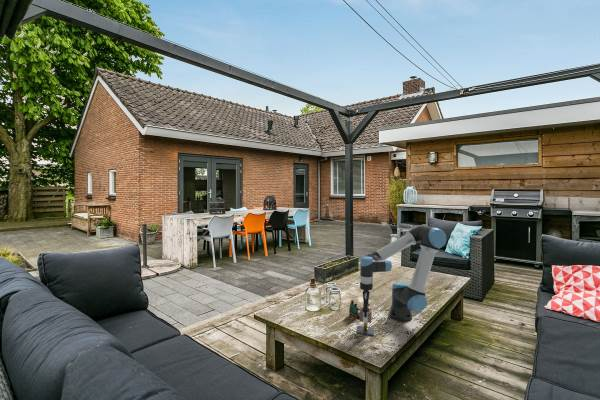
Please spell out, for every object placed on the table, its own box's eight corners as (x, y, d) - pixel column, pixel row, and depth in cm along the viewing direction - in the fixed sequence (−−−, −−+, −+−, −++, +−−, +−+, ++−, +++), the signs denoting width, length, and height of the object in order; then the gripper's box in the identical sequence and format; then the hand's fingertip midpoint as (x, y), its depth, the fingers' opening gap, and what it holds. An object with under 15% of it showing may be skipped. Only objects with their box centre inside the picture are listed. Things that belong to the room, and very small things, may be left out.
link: (371, 317, 190) (371, 308, 189) (371, 322, 183) (371, 313, 183) (360, 316, 192) (360, 307, 191) (359, 321, 185) (359, 311, 184)
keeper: (374, 329, 191) (374, 309, 190) (373, 336, 182) (374, 316, 181) (357, 327, 193) (358, 308, 193) (356, 333, 185) (357, 314, 184)
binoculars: (367, 303, 205) (354, 304, 202) (365, 319, 206) (352, 320, 202) (360, 299, 214) (347, 299, 210) (358, 313, 214) (346, 314, 211)
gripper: (361, 276, 196) (360, 311, 198) (358, 287, 177) (358, 325, 179) (373, 277, 194) (372, 313, 196) (372, 288, 175) (371, 327, 177)
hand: (365, 319), depth 187 cm, fingers closed on link, 7 cm apart
